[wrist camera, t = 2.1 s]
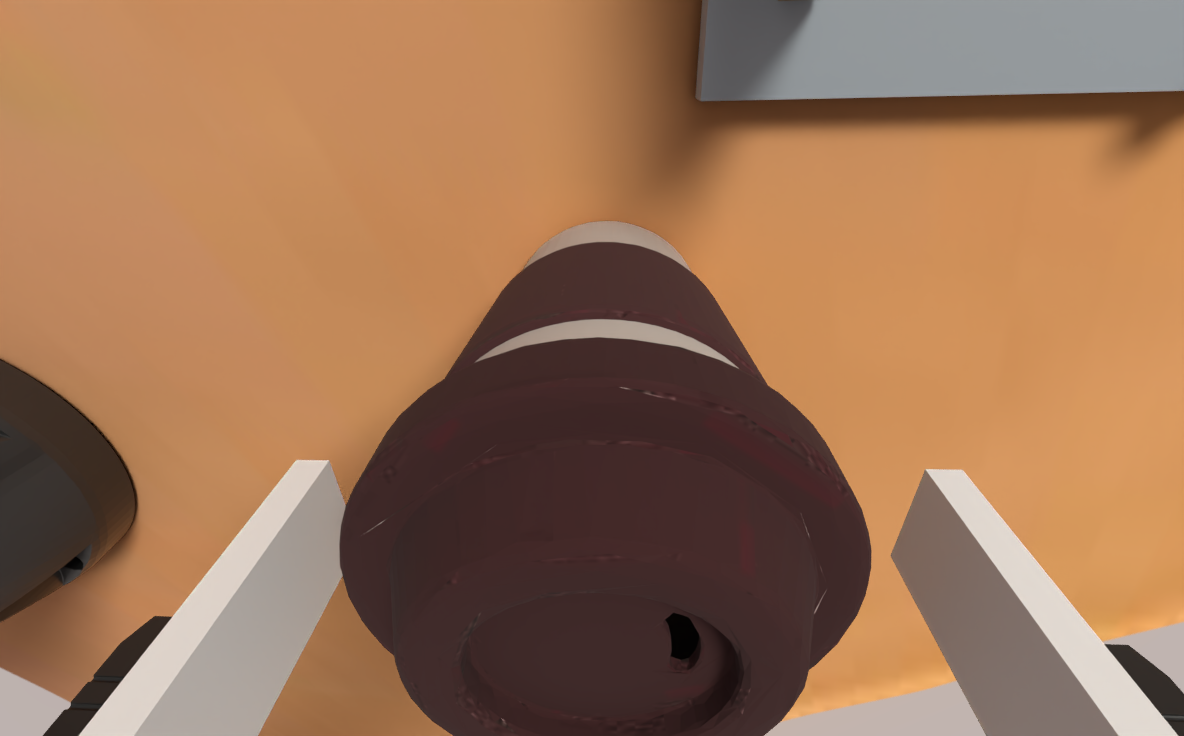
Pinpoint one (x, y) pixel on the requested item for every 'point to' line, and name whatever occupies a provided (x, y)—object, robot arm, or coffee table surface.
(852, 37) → the grey flat slab
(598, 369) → the coffee cup
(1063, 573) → the coffee table surface
